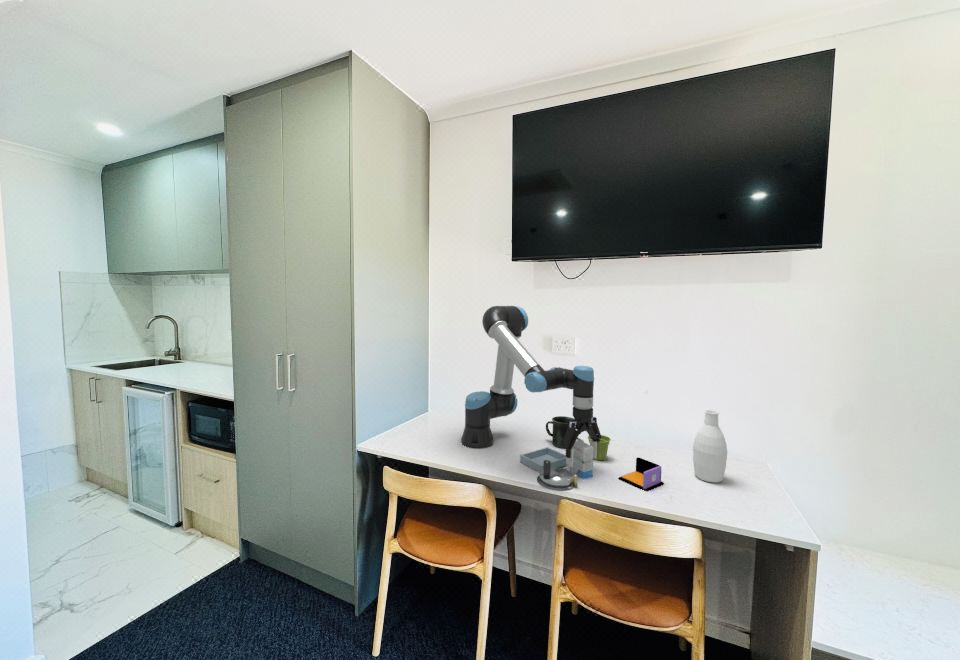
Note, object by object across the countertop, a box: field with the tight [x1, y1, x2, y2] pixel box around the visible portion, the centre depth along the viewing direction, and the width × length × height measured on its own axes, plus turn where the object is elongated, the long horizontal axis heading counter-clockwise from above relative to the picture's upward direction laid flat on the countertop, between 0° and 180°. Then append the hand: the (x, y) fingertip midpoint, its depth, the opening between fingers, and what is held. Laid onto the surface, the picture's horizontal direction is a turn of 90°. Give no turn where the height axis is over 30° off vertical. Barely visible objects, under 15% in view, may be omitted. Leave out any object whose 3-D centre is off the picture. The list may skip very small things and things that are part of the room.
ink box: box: [569, 437, 594, 480], centre depth 143 cm, size 9×5×15 cm, turn 23°
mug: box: [545, 415, 574, 449], centre depth 173 cm, size 11×15×12 cm
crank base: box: [536, 473, 579, 492], centre depth 135 cm, size 14×14×5 cm
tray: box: [519, 446, 569, 474], centre depth 151 cm, size 13×16×4 cm
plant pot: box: [587, 434, 612, 461], centre depth 158 cm, size 9×9×9 cm
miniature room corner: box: [617, 457, 665, 492], centre depth 137 cm, size 12×12×7 cm
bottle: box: [692, 409, 728, 484], centre depth 141 cm, size 11×11×25 cm
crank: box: [539, 460, 574, 488], centre depth 135 cm, size 12×12×8 cm
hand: (581, 461), depth 143 cm, fingers open, 13 cm apart
